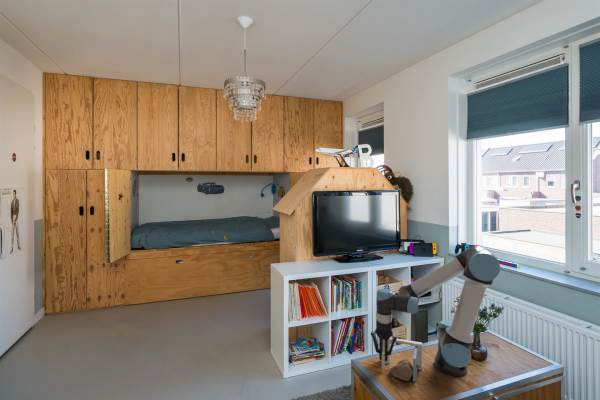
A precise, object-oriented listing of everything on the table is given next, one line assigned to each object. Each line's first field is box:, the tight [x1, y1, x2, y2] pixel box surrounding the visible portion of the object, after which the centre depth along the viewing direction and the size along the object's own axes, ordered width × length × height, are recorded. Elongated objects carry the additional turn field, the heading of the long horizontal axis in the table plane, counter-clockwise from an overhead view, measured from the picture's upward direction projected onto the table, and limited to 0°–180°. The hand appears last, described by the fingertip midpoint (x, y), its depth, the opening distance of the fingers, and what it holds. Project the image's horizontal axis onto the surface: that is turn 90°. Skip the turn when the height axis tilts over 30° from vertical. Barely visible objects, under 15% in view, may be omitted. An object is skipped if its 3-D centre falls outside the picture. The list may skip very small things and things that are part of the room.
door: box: [412, 346, 420, 383], centre depth 151 cm, size 13×3×12 cm, turn 155°
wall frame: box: [380, 336, 423, 371], centre depth 159 cm, size 20×2×13 cm, turn 68°
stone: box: [390, 359, 413, 382], centre depth 150 cm, size 12×9×10 cm
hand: (383, 366), depth 155 cm, fingers closed
